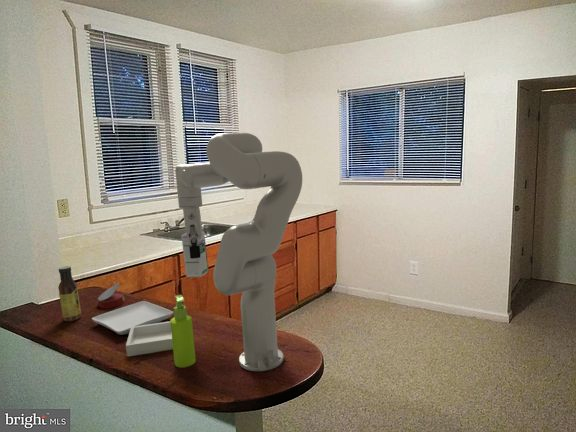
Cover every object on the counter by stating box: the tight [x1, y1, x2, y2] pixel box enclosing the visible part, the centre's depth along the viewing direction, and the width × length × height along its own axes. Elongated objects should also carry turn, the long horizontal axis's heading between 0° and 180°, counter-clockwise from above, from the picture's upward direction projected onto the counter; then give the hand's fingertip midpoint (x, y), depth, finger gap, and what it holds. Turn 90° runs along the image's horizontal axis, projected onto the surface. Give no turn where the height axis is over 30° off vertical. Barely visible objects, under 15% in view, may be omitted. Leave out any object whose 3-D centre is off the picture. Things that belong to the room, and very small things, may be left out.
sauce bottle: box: [58, 266, 82, 323], centre depth 156 cm, size 7×6×20 cm
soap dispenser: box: [170, 294, 197, 368], centre depth 119 cm, size 6×7×20 cm
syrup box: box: [180, 230, 209, 278], centre depth 140 cm, size 6×6×14 cm
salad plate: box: [91, 300, 174, 336], centre depth 152 cm, size 21×21×3 cm
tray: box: [125, 321, 173, 357], centre depth 134 cm, size 14×14×4 cm
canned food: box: [97, 282, 125, 309], centre depth 172 cm, size 11×10×10 cm
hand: (195, 254), depth 140 cm, fingers closed on syrup box, 7 cm apart
